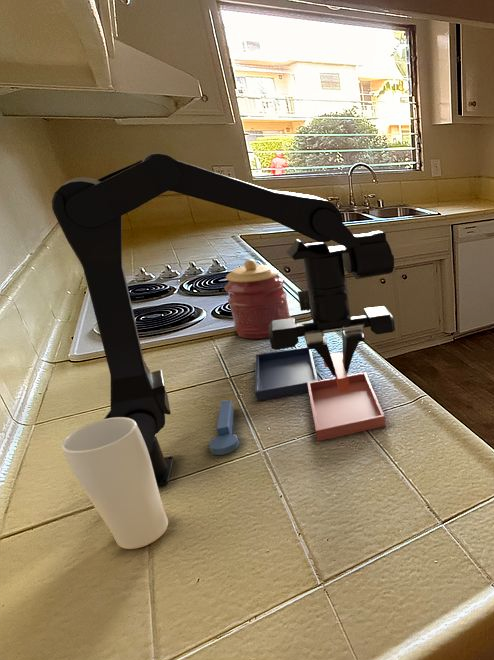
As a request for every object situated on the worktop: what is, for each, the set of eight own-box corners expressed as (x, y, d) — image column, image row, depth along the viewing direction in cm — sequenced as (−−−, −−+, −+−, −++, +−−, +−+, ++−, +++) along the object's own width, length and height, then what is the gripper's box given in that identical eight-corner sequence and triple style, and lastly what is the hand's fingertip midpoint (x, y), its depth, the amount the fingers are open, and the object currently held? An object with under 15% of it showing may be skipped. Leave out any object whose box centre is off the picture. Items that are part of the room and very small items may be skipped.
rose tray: (385, 426, 78) (384, 416, 77) (317, 441, 74) (315, 430, 73) (366, 380, 92) (365, 371, 91) (308, 391, 88) (307, 382, 87)
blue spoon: (216, 414, 81) (213, 402, 80) (241, 409, 82) (238, 398, 81) (209, 457, 70) (205, 445, 69) (238, 451, 71) (235, 438, 70)
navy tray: (319, 389, 88) (318, 380, 88) (257, 401, 85) (254, 392, 84) (311, 354, 102) (310, 346, 102) (257, 362, 99) (255, 354, 98)
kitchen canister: (256, 344, 107) (239, 269, 99) (225, 332, 114) (206, 261, 106) (303, 326, 117) (290, 257, 109) (271, 316, 123) (257, 250, 115)
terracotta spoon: (357, 388, 75) (355, 375, 74) (331, 393, 74) (329, 380, 72) (345, 356, 86) (343, 344, 85) (323, 360, 84) (321, 348, 83)
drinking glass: (127, 566, 53) (75, 460, 46) (100, 540, 56) (48, 439, 49) (187, 527, 58) (149, 427, 51) (159, 506, 61) (119, 410, 54)
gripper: (376, 265, 80) (384, 346, 87) (260, 276, 74) (279, 363, 81) (391, 282, 71) (399, 371, 78) (260, 297, 65) (281, 393, 72)
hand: (340, 373), depth 77 cm, fingers closed on terracotta spoon, 1 cm apart
